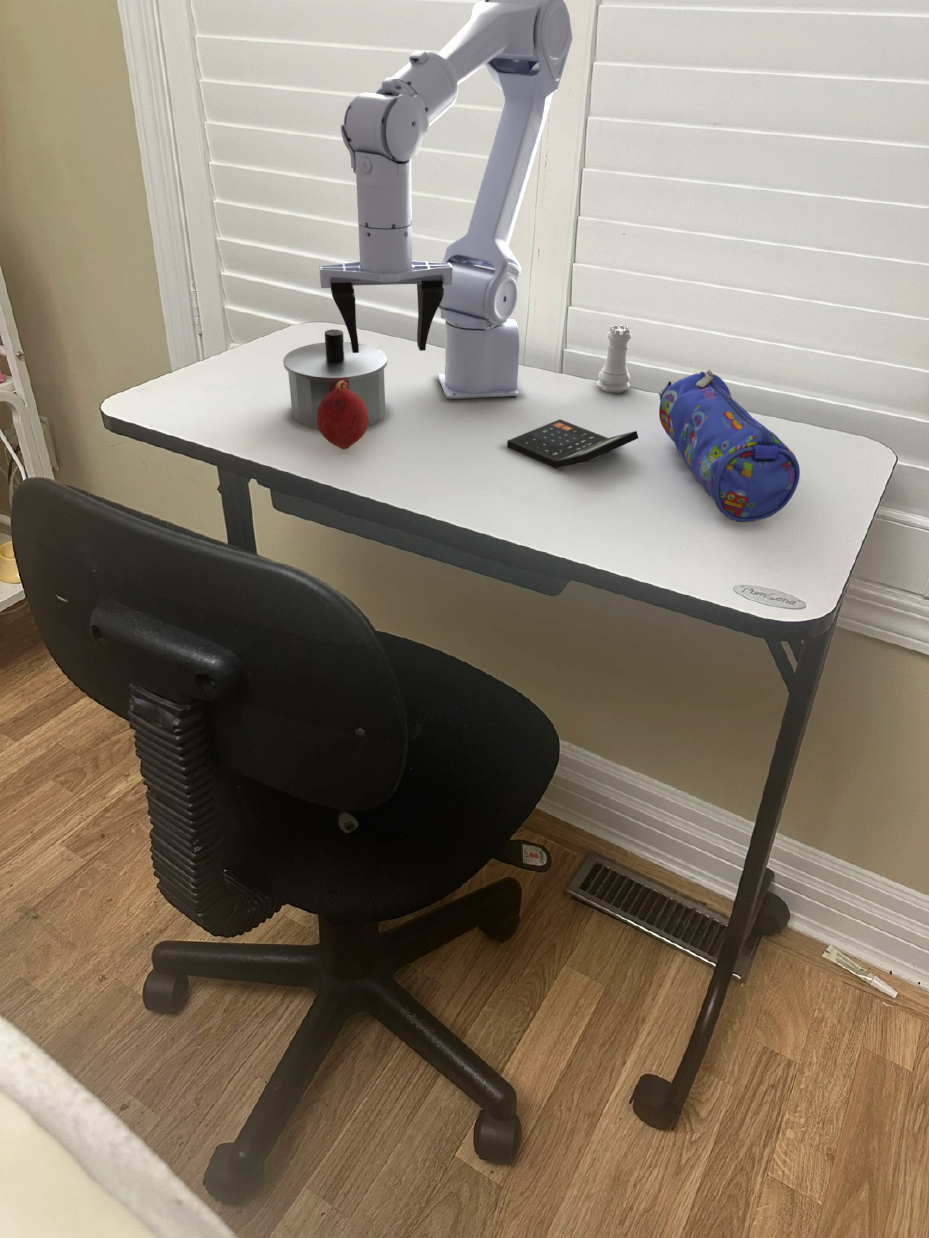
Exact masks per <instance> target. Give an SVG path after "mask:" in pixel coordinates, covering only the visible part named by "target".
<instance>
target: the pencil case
mask: <svg viewBox="0 0 929 1238" xmlns="http://www.w3.org/2000/svg"><path fill="white" fill-rule="evenodd" d="M658 396H659V400H660V402H659V408H658V415H659V422H660V424H661V427H662V429H663V430H664V431H665V434H666V435H667V436H668V437H669V439H670V440H671V441H672V442H673V443H674V445H675V448H676V449H677V451H678V452H679V455H680V456H681V458H682V461H683V462H684V463H685V465H686V467H687V468H688V469H689V471H690V472H691V473H692V475H693V476H694V478H695V479H696V481H697V482H698V483H699V484H700V485H701V487H702V488H703V489H704V491H706V493H707V494H708V495H709V496H710V497H711V498H712V499H713V500H714V503H715V505H716V507H717V509H718V510H719V512H720V513H721V514H722V515H723V517H726V518H727V519H729V520H731V521H735V522H737V523H749V522H755V521H759V520H760V521H761V520H764V519H767V518H770V517H772V516H774V515H776V514H777V513H778V512H780V511H781V510H782V509H783V508H784V507H786V506H787V504H788V503H789V502H790V500H791V499H792V497H793V496H794V494H795V492H796V489H797V487H798V484H799V482H800V477H801V473H800V472H801V468H800V464H799V461H798V460H797V457H796V455H795V454H794V452H793V451H792V450H791V449H790V448H789V447H788V446H787V445H786V444H785V443H784V442H783V441H782V440H781V439H780V438H779V437H778V436H777V434H775V433H774V432H773V431H771V430H770V429H768V428H767V427H766V426H765V425H764V424H762V423H761V422H759V421H758V420H757V419H755V418H754V417H753V416H752V415H751V414H750V413H749V412H748V411H747V409H745V408H744V407H743V406H741V405H740V404H739V403H738V402H737V401H736V400H735V399H733V398H732V395H731V392H730V389H729V386H728V385H727V384H726V382H725V381H724V380H723V379H722V378H721V377H720V376H718V375H717V374H714V373H713V372H712V370H711V369H707V370H706V371H705V372H704V371H700V372H699V373H697V372H696V373H693V374H690V375H688V376H686V377H683V378H681V379H678V380H677V381H674V382H673V383H672V381H671V380H670V381H668V382H667V384H666V385H665V387H664V388H663V389H661V390H660V392H659V393H658Z"/></svg>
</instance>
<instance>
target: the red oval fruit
mask: <svg viewBox="0 0 929 1238" xmlns="http://www.w3.org/2000/svg"><path fill="white" fill-rule="evenodd" d="M347 385H348V384H347V383H346V382H345V381H343V380H342V381H339V382H338V383H337V385H336V387H335V389H334V390H333V391H331V392H330V393H328V394H327V395H326V396H325V397H324V398H323V400H322V401H321V403H320V405H319V407H318V411H317V425H318V429H319V430H318V431H319V432H320V434H321V435H322V436H323V438H324V439H325V440H326V441H327V442H328V443H329V444H331V445H334V446H335V447H337V448H339V449H341V450H348V449H350V448H351V447H352V446H353V445H354V444H356V443H357V442H359V440H361V439H362V438H363V436H364V435H365V434H366V431H367V430H368V428H369V427H368V422H369V419H368V412H367V408H366V406H365V404H364V402H363V400H362V399H361V398H360V397H359V396H358V395H357V394H355V393H354V392H352V391H350V390H348V388H347Z"/></svg>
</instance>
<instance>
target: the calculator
mask: <svg viewBox="0 0 929 1238" xmlns="http://www.w3.org/2000/svg"><path fill="white" fill-rule="evenodd" d="M638 439H639V434H638V431H637V430H634V431H630V432H627V433H623V434H619V435H615V436H611V437H606V436H604V435H601V434H599V433H596V432H594V431H591V430H589V429H587V428H583V427H581V426H578V425H576V424H573V423H571V422H569V421H566V420H563V419H561V418H559V419H557V420H555V421H552V422H550V423H547V424H545V425H542V426H540V427H537V428H534V429H532V430H529V431H528V432H525V433H523V434H520V435H517V436H515V437H513V438H511V439H507V441H506V448H507V449H510V450H512V451H514V452H516V453H518V454H521V455H524V456H526V457H528V458H530V459H533V460H535V461H537V462H540V463H542V464H545V465H546V466H549V467H551V468H554V469H559V468H564V467H571V466H574V465H580V464H584V463H588V462H590V461H592V460H594V459H597V458H599V457H601V456H603V455H605V454H608V453H610V452H612V451H614V450H616V449H618V448H621V447H623V446H625V445H627V444H630V443H631V442H633V441H636V440H638Z"/></svg>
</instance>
